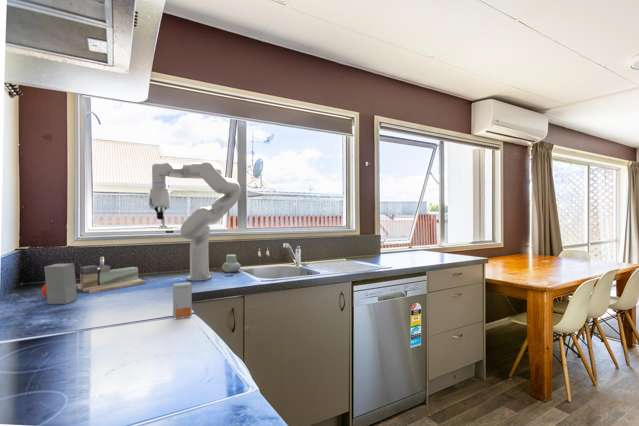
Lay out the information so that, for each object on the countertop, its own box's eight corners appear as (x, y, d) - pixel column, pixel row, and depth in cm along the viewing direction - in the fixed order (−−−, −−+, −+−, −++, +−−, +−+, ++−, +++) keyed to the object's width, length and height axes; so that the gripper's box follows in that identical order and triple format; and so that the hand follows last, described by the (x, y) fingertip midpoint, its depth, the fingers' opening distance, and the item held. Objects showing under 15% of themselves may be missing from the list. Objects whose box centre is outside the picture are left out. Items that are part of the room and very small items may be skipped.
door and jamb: (145, 283, 179) (145, 262, 179) (90, 293, 160) (89, 269, 159) (129, 279, 190) (128, 258, 190) (75, 287, 171) (75, 265, 170)
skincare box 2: (173, 320, 123) (173, 285, 122) (172, 316, 127) (172, 283, 126) (192, 317, 126) (191, 284, 125) (190, 314, 129) (190, 281, 129)
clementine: (60, 298, 151) (60, 282, 151) (40, 301, 147) (39, 284, 147) (62, 294, 158) (62, 278, 157) (43, 296, 154) (42, 280, 154)
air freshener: (242, 271, 212) (242, 255, 212) (231, 273, 205) (231, 256, 205) (231, 269, 219) (231, 253, 218) (220, 271, 212) (220, 255, 212)
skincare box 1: (77, 300, 148) (77, 262, 148) (63, 305, 141) (63, 265, 141) (59, 299, 149) (58, 262, 149) (44, 304, 142) (43, 265, 142)
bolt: (107, 270, 173) (107, 256, 172) (84, 274, 165) (83, 258, 165) (105, 270, 174) (105, 256, 174) (82, 273, 166) (82, 258, 166)
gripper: (168, 187, 204) (169, 218, 205) (142, 186, 192) (143, 219, 193) (175, 186, 200) (176, 219, 200) (149, 185, 188) (150, 219, 188)
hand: (160, 219), depth 197 cm, fingers closed
